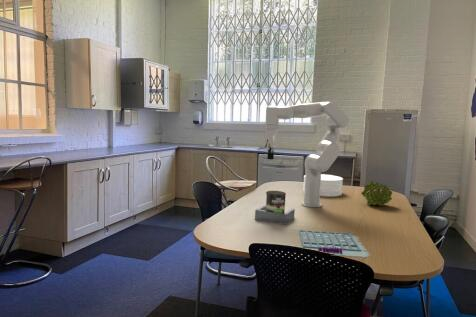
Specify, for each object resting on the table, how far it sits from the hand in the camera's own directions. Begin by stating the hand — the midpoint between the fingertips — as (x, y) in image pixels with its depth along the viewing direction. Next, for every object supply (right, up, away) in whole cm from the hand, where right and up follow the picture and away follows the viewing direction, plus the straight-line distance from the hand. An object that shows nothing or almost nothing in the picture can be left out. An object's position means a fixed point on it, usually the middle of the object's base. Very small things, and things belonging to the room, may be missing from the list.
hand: (270, 159), depth 212 cm
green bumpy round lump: (+69, -30, +20) cm, 78 cm away
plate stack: (+43, -25, +56) cm, 75 cm away
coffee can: (+1, -32, -19) cm, 37 cm away
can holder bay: (+1, -32, -19) cm, 37 cm away
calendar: (+22, -37, -55) cm, 70 cm away
